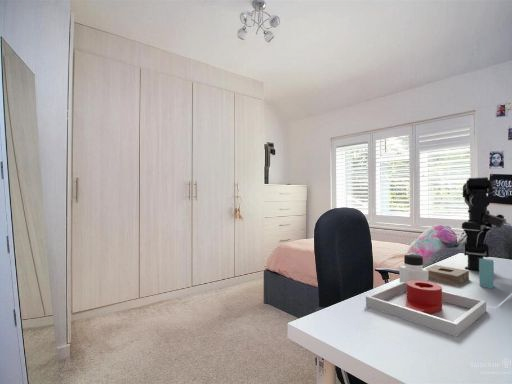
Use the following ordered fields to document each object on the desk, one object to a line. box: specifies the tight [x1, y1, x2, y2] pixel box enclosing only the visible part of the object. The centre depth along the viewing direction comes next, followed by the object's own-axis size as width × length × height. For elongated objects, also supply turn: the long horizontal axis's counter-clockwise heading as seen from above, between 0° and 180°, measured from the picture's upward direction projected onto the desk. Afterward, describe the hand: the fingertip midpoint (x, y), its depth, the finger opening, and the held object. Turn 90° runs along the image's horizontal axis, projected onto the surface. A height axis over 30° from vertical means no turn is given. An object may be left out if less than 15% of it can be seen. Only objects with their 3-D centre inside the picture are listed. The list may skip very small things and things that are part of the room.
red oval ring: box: [404, 280, 443, 316], centre depth 85 cm, size 18×9×7 cm, turn 136°
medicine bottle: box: [399, 253, 430, 283], centre depth 106 cm, size 7×7×12 cm
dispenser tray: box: [365, 282, 487, 338], centre depth 86 cm, size 24×24×3 cm
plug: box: [478, 258, 495, 289], centre depth 106 cm, size 4×4×10 cm
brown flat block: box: [425, 264, 470, 287], centre depth 114 cm, size 12×12×4 cm
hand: (478, 245), depth 117 cm, fingers open, 9 cm apart
